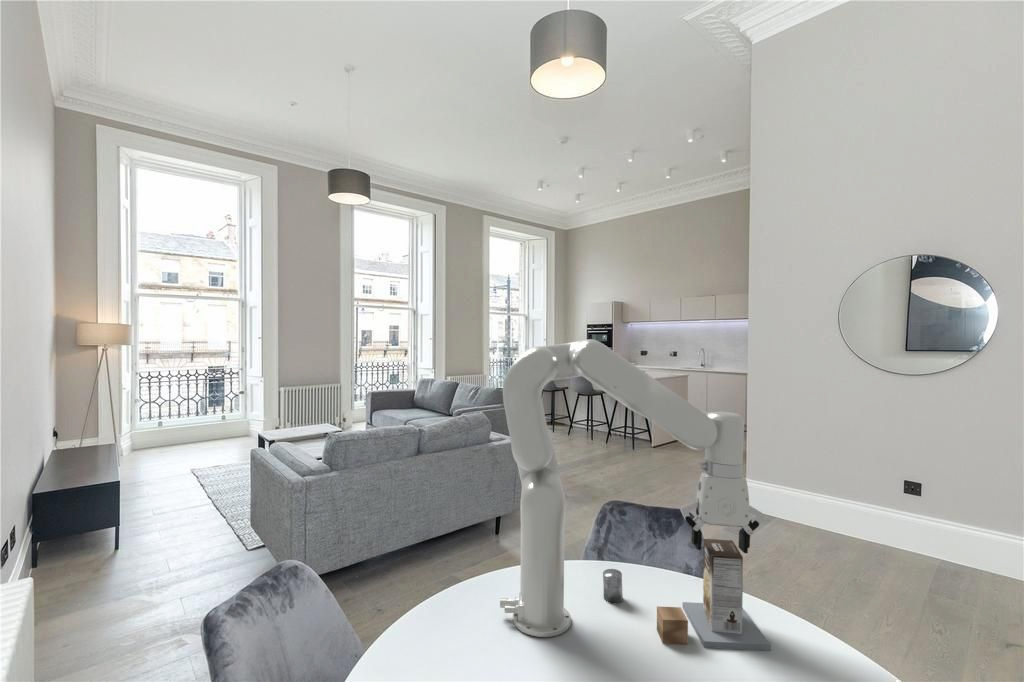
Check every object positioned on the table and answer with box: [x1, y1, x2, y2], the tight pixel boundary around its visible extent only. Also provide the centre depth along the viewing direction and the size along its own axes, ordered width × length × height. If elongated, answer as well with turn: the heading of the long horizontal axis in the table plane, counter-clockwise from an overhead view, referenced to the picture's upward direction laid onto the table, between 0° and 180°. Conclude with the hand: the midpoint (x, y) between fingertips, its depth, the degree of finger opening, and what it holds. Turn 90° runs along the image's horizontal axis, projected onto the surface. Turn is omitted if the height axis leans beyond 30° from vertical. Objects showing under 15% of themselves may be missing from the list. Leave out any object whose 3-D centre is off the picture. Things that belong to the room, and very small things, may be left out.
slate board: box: [682, 601, 772, 651], centre depth 104 cm, size 13×15×1 cm
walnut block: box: [656, 606, 689, 646], centre depth 100 cm, size 5×5×5 cm
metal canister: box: [602, 568, 624, 604], centre depth 115 cm, size 4×4×6 cm
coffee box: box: [702, 538, 744, 634], centre depth 104 cm, size 9×6×16 cm
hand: (719, 549), depth 104 cm, fingers open, 9 cm apart
